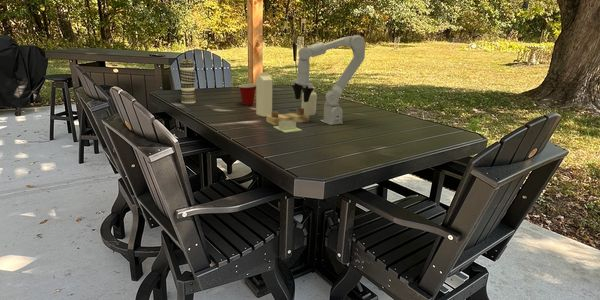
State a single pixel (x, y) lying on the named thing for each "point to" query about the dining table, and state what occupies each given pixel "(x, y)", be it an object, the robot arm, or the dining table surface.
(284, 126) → the lever cap
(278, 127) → the rubber mat
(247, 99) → the plastic cup
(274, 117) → the plane body
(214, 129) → the dining table surface
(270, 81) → the milk
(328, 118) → the robot arm
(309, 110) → the pill bottle
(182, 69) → the decorative candle
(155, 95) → the dining table surface
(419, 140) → the dining table surface
